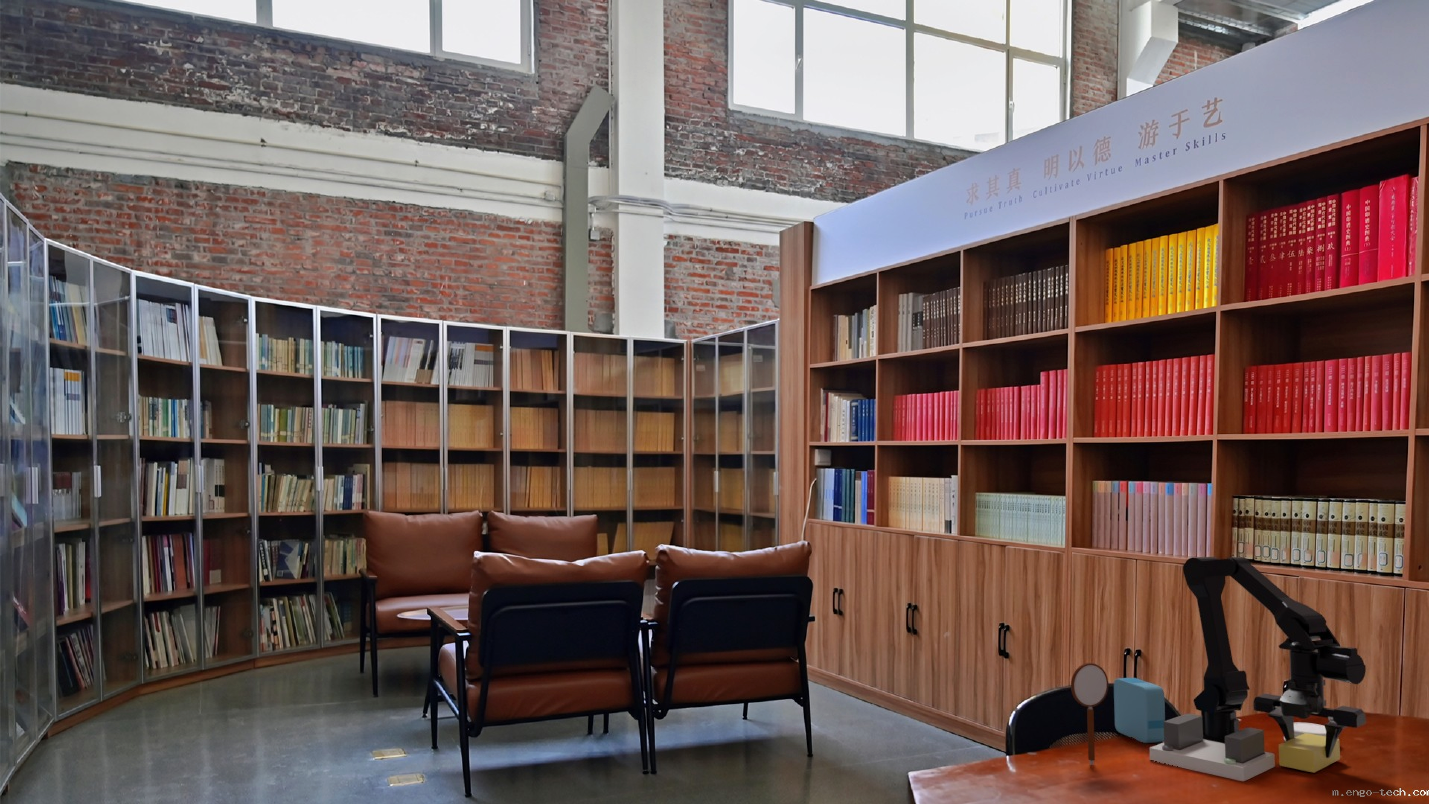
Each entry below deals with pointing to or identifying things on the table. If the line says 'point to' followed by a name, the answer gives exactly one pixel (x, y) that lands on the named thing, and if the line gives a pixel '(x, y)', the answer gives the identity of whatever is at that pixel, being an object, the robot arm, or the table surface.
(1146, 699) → the data package
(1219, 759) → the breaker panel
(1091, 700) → the magnifying glass
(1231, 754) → the block
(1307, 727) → the coaster
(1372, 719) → the table surface
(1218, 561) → the robot arm
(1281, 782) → the table surface
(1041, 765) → the table surface
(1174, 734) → the block
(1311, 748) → the pale yellow pad
